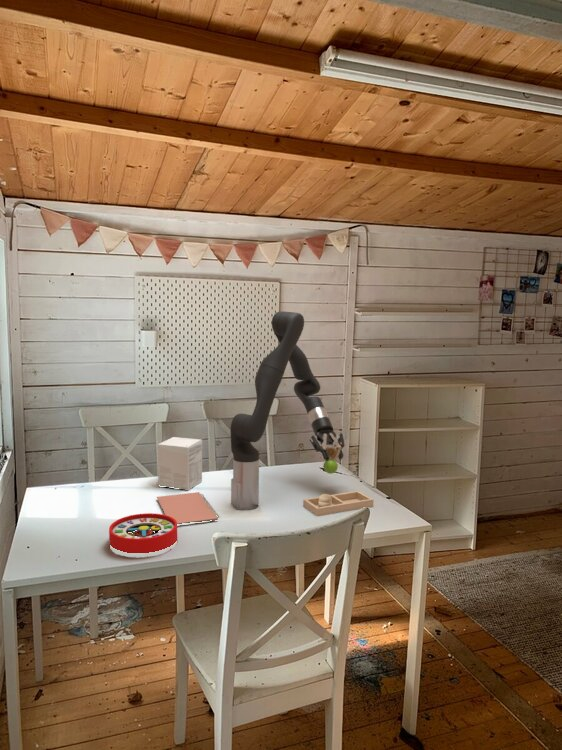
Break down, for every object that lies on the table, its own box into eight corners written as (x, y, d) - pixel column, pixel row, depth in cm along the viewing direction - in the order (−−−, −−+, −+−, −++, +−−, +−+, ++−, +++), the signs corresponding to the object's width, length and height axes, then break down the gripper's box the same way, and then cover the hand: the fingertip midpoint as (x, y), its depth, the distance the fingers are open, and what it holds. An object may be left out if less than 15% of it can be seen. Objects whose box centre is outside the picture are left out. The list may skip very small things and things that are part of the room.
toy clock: (174, 511, 183) (180, 536, 164) (174, 528, 184) (180, 555, 165) (109, 516, 178) (107, 542, 159) (110, 533, 179) (108, 562, 160)
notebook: (221, 522, 190) (221, 516, 190) (170, 529, 184) (170, 523, 184) (201, 496, 215) (201, 491, 215) (156, 501, 209) (156, 496, 209)
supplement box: (203, 481, 231) (202, 439, 229) (188, 491, 218) (188, 447, 216) (173, 477, 235) (173, 436, 233) (157, 487, 222) (157, 443, 220)
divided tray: (316, 518, 193) (317, 508, 193) (303, 508, 202) (303, 499, 202) (373, 509, 203) (373, 499, 203) (357, 499, 212) (358, 490, 212)
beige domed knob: (322, 511, 197) (322, 496, 197) (316, 507, 201) (316, 492, 201) (333, 509, 199) (334, 495, 198) (327, 505, 203) (327, 491, 203)
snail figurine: (340, 475, 213) (342, 444, 211) (323, 475, 213) (324, 443, 211) (339, 471, 218) (341, 441, 217) (322, 470, 218) (324, 440, 217)
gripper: (307, 417, 216) (321, 455, 207) (339, 415, 223) (355, 452, 213) (300, 428, 222) (314, 466, 212) (332, 425, 228) (346, 462, 219)
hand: (334, 459), depth 213 cm, fingers closed on snail figurine, 5 cm apart
